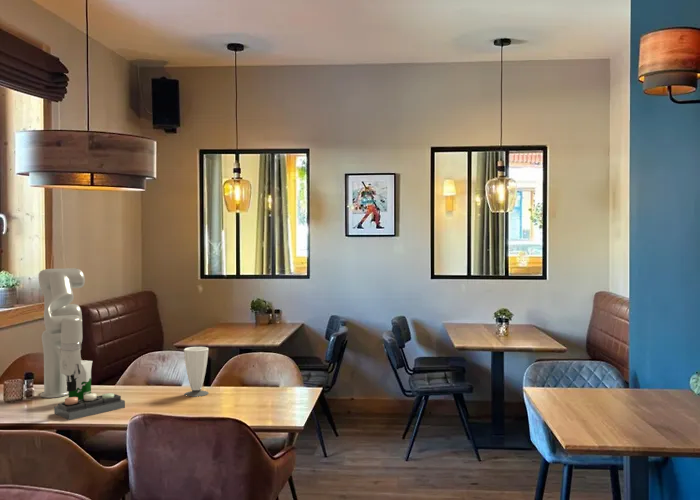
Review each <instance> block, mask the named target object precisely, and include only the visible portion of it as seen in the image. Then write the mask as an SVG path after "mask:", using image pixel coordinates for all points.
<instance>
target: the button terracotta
mask: <svg viewBox="0 0 700 500" xmlns="http://www.w3.org/2000/svg"><path fill="white" fill-rule="evenodd" d="M68 397H69V396H68ZM68 397H66V398H64V403H65V405H73V404H77V403H78V397H69V398H68Z"/></svg>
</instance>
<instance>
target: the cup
mask: <svg viewBox="0 0 700 500" xmlns="http://www.w3.org/2000/svg"><path fill="white" fill-rule="evenodd" d="M183 355H184V361H185V362H184V363H185V369H186V374H187V379H188V384H189V387H190V389H191V391H187V392H185V393H183V395H184V396H185V395H187V396H192V397H191V398H199V396H201V397H204V396H207V395H209V394H210V393H209V391H206V390H202V388H203V385H204V381H205V376H206V373H207V365H208V358H209V347H208V346H207V347H206V346H189V347H185V348H184V349H183ZM187 396H186V397H187ZM197 396H198V397H197Z"/></svg>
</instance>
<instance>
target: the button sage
mask: <svg viewBox="0 0 700 500" xmlns="http://www.w3.org/2000/svg"><path fill="white" fill-rule="evenodd" d="M114 394H115V393H113V392H110V393H109V392H108V393H103V394H101V395H102V398H104V399H106V398H111V397H114Z"/></svg>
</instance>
